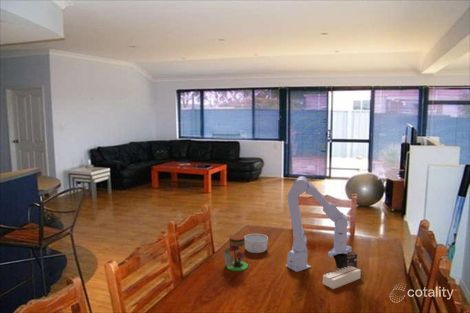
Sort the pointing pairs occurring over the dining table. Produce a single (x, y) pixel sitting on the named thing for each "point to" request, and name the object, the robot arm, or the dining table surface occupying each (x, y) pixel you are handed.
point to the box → (350, 260)
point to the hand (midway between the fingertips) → (339, 267)
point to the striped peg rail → (341, 277)
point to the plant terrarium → (234, 245)
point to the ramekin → (256, 243)
